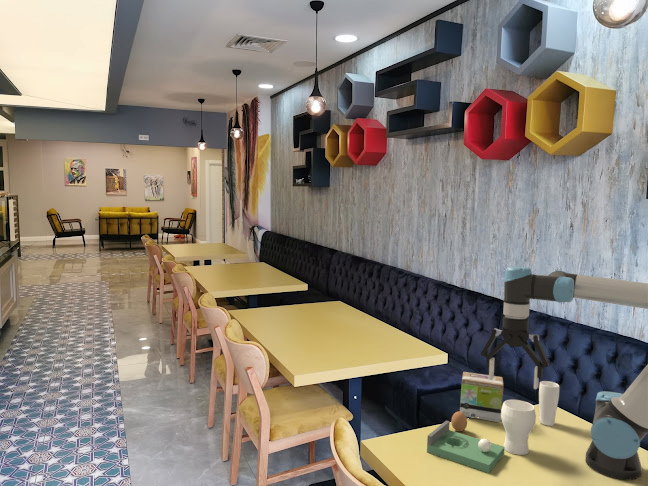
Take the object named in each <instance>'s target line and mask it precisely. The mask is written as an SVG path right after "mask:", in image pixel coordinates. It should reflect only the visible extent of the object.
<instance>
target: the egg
mask: <svg viewBox="0 0 648 486" xmlns="http://www.w3.org/2000/svg"><path fill="white" fill-rule="evenodd" d="M467 418H468V417H466V416H465V414H464V413H463V412H461V411H460V410H459V411H455V413H453V414H452V416H451V421H450V424H451V426H452V428H453V430H454V431H455V432H463V431H465V430H466V428H467V426H468V419H467Z"/></svg>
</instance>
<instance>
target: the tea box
mask: <svg viewBox="0 0 648 486" xmlns="http://www.w3.org/2000/svg"><path fill="white" fill-rule="evenodd" d="M503 378H504V377H502V376H496V375H494V378H493V379H492V380H489V374H482V373H474V372H468V371H463V372H462V378H461V389H460V402H459V404H460V405H459V411H461V412H463V413H464V414H465V416H466V418H473V419H478V420H484V421H489V422H494V421H496V422H495V423H499V422H500V423H501V422H502V419H501V409H502V406H503V397H504V380H503ZM477 417H479V418H477Z"/></svg>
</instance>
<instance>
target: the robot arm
mask: <svg viewBox="0 0 648 486" xmlns="http://www.w3.org/2000/svg"><path fill="white" fill-rule="evenodd" d="M503 283H504V284H503V285H504V289H503V290H504V291H503V311H502V312H503V313H502V314H503V315H504V316H503V317H502V330H501V329H498V327H495V328H493V329H492V330H491V335H490V337H489V339H488V340H487V342H486V344H485V345H484V347H483V349H482V351H480V356H482V357H484V358H486V360H485V361H486V362H485V363H486V366H485V367H486V369H488V375H489V380H492V379H493V378H494V376H495V374H494V373H495V357H493V356H494V355H495V354H497V353H498V352H499V351H500V350H501V349H503V347H504V346H505V345H508V346H511V347H516V348H520V347H521V348H522V349H523V350H524V351H525V352H526V353H527V355H528V357H529V358H530V360H532V361H533V363H534V364H535V366H534V374H533V376H534V377H533V389H534V390H537V389H539V383H540V382H539V381H540V380H539V379H542V378H543V374H544V373H543V370H544V368H548V367H549V365H550V361H549V358H548V357H547V354H546V352H545V350H544V347H543V345H542V343H541V341H540V334H539V333H536V334H530V333H529V328H530V327H529V326H530V325H529V324H530V323H529V322H530V319H529V316H530V304H531V303H530V302H531V301H530V300H540V301H548V302H556V303H571V302H572V301H573V299H580V300H587V301H591V302H592V301H594V302H600V303H605V304H606V303H608V304H611V305H612V304H613V305H620V306H626V307H632V308H639V309H645V310H648V283H647V282H640V281H632V280H624V279H617V278H608V277H600V276H593V275H585V274H575V273H570V272H565V271H563V270H556V271H553V272H550V273H549V274H548V275H545V274H544V275H543V274H534V273H533V272H532V270H531V268H530V267H527V266H517V265H515V266H508V267H506V269H505V276H504V281H503ZM500 335H501V336H502V338H503V339H502V341H500V342H499V344H498V345H496V347H494V348H493V349H492V350H491V351H490V352H489V350H490V349H491V347H492V345H493V344H494V342H495V340H496V339H497V337H499V336H500ZM529 339H530V340H531V342H532V343H533V345H534V347H535V349H536V352H537V353H538V355H537V354H536V352H535V351H534V350H533V348H532V346H531V345H530V344H529V342H528V340H529ZM647 434H648V363H647V365H646V366H645V367H644V368H643V369H642V370H641V372H640V373H639V374H638V375H637V377H636V378H635V379H634V381H633V382H632V383H631V384H630V385H629V387H627V389H626V390H625V392H624V393H620V392H614V391H606V390H605V391H599V392H597V393H596V398H595V411H594V416H593V421H592V425H591V427H590V435H591V439H592V440H591V441H590V444H589V446H588V447H587V450H586V452H585V459H584V461H585V463H586V465H587V466H588V467H589V468H590V469H591V470H594V471H595V472H597V473H599V474H601V475H604V476H607V477H610V478H613V479H620V480H627V481H628V480H629V481H630V480H636V479H639V478H641V476H642V469H643V468H642V463H641V460H640V456H639V453H638V451H639V448H640V446H641V441H642V440H643V439H644V438H645V437H646V435H647Z"/></svg>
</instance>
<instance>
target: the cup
mask: <svg viewBox="0 0 648 486" xmlns="http://www.w3.org/2000/svg"><path fill="white" fill-rule="evenodd" d="M536 417H537V415H536V409H535V406H534V405H533V404H531V403H530V402H527V401H524V400H519V399H506V400H505V401H503V402H502V409H501V422H502V425H503V428H504V430H505V438H504V443H503V447H505V449H504V451H506V452H508V453H510V454H514V455H517V456H525V455H528V454H529V441H528V440H529V436H530V433H531V432H532V430H533V429H534V427H535V424H536V420H537V419H536Z"/></svg>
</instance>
